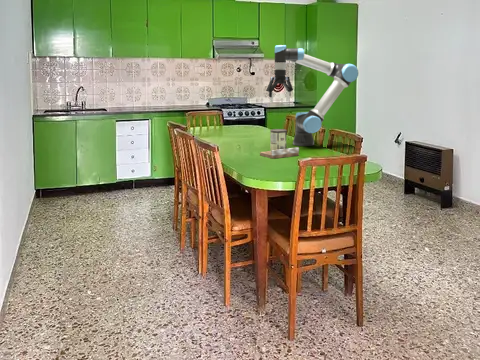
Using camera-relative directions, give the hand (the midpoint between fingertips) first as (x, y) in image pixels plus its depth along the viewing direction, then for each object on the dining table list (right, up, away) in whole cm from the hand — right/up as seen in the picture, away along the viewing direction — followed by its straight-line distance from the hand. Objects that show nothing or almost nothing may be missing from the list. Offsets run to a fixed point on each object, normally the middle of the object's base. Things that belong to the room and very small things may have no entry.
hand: (279, 101), depth 337 cm
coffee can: (-2, -35, -18) cm, 39 cm away
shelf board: (-2, -37, -18) cm, 41 cm away
